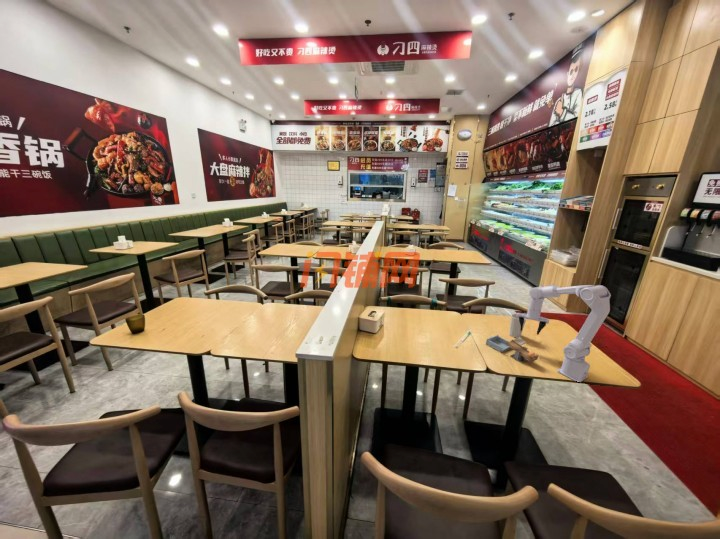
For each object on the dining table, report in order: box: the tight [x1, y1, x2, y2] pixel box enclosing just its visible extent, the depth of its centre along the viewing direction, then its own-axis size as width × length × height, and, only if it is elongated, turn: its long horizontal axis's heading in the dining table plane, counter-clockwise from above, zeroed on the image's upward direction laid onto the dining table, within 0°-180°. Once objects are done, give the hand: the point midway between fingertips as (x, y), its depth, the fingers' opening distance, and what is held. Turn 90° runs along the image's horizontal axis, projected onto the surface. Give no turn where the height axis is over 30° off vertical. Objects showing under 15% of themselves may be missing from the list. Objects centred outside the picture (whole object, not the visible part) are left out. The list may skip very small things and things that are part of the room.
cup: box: [508, 313, 527, 339], centre depth 164 cm, size 8×8×12 cm
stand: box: [509, 346, 529, 364], centre depth 143 cm, size 6×7×5 cm
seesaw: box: [506, 337, 539, 363], centre depth 144 cm, size 14×12×2 cm
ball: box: [528, 351, 537, 358], centre depth 138 cm, size 3×3×3 cm
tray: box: [485, 334, 512, 353], centre depth 153 cm, size 9×9×4 cm
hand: (529, 332), depth 150 cm, fingers open, 7 cm apart
